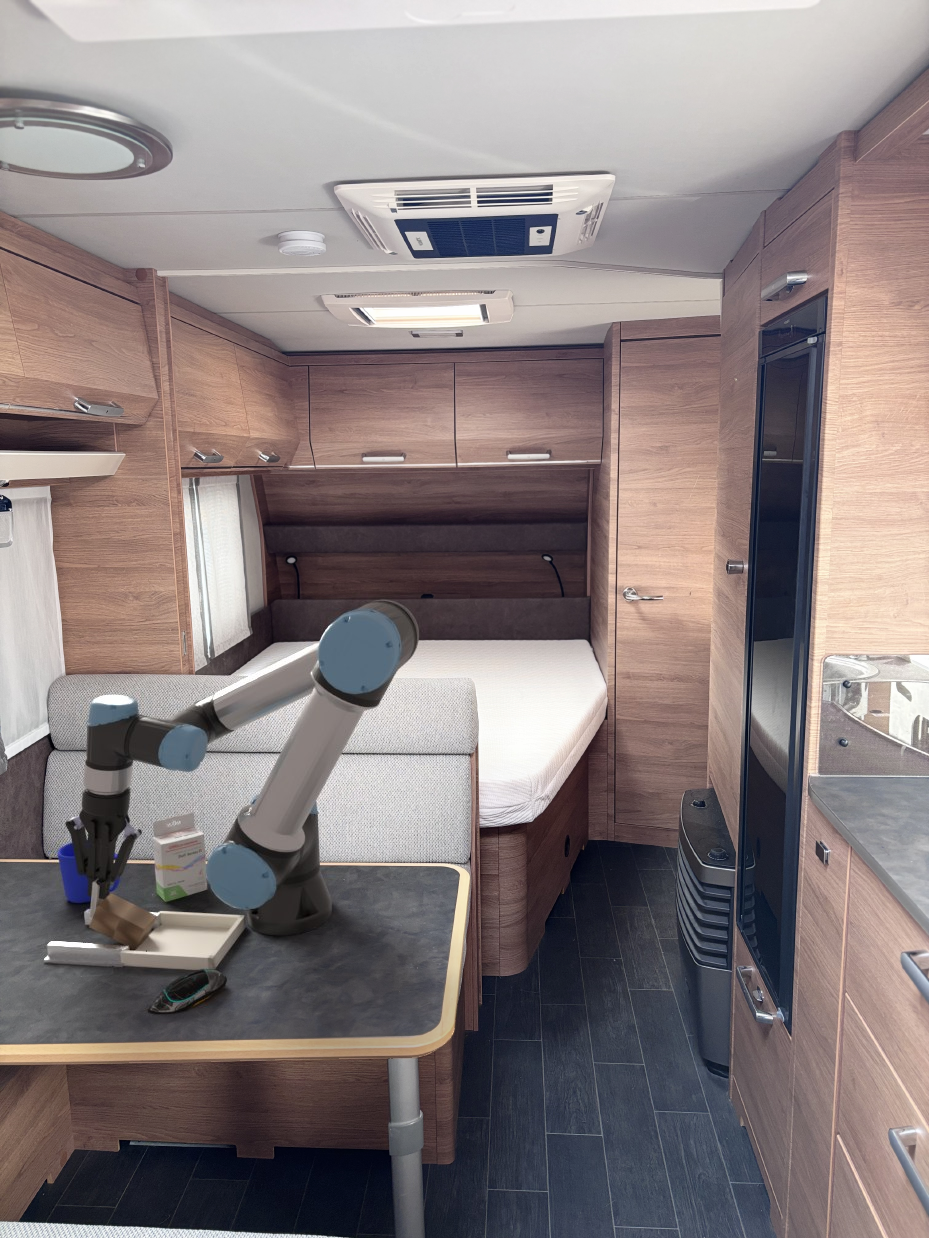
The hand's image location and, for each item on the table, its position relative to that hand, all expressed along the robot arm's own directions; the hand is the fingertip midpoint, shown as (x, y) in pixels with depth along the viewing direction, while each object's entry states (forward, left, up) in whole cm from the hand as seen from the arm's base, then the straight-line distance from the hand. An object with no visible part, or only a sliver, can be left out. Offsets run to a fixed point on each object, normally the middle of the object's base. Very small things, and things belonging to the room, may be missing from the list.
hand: (96, 913), depth 153 cm
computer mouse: (-23, +15, -6) cm, 28 cm away
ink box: (-6, -19, -5) cm, 21 cm away
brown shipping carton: (-2, 0, -2) cm, 3 cm away
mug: (+10, -15, -5) cm, 19 cm away
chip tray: (-16, 0, -5) cm, 17 cm away
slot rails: (-1, 0, -5) cm, 5 cm away
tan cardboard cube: (-6, 0, -4) cm, 7 cm away
